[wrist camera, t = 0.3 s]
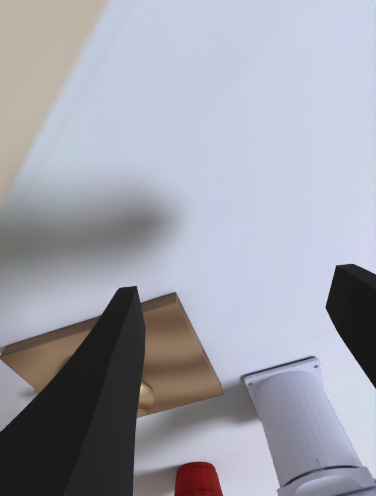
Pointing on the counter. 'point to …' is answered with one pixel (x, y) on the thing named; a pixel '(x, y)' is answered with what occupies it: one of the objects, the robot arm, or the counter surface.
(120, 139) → the counter surface
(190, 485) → the plastic cup
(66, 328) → the dial board
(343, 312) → the robot arm
